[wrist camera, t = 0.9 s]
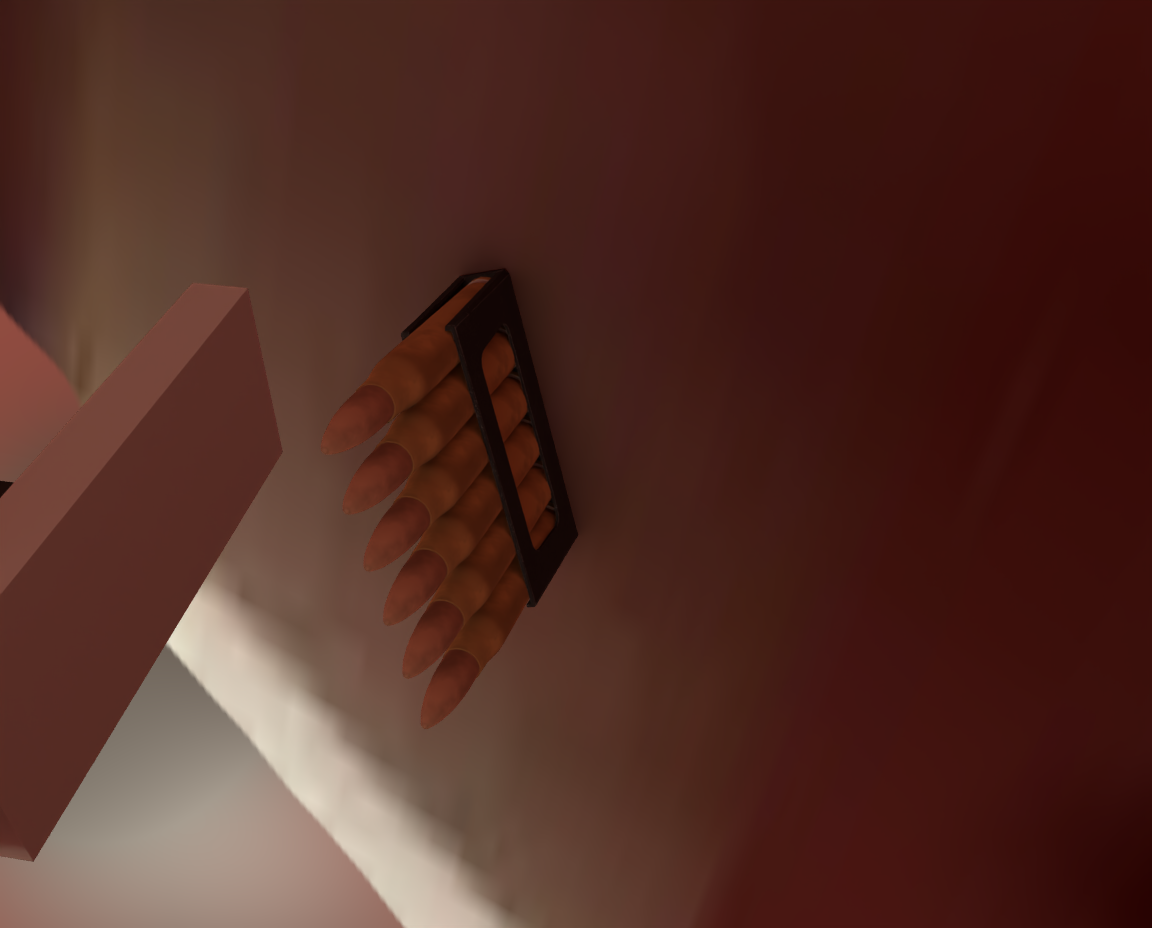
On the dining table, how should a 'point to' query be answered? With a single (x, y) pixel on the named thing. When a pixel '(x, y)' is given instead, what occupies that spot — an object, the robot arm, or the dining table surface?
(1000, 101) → the dining table surface
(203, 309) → the robot arm
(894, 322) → the dining table surface
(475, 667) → the ammunition clip
